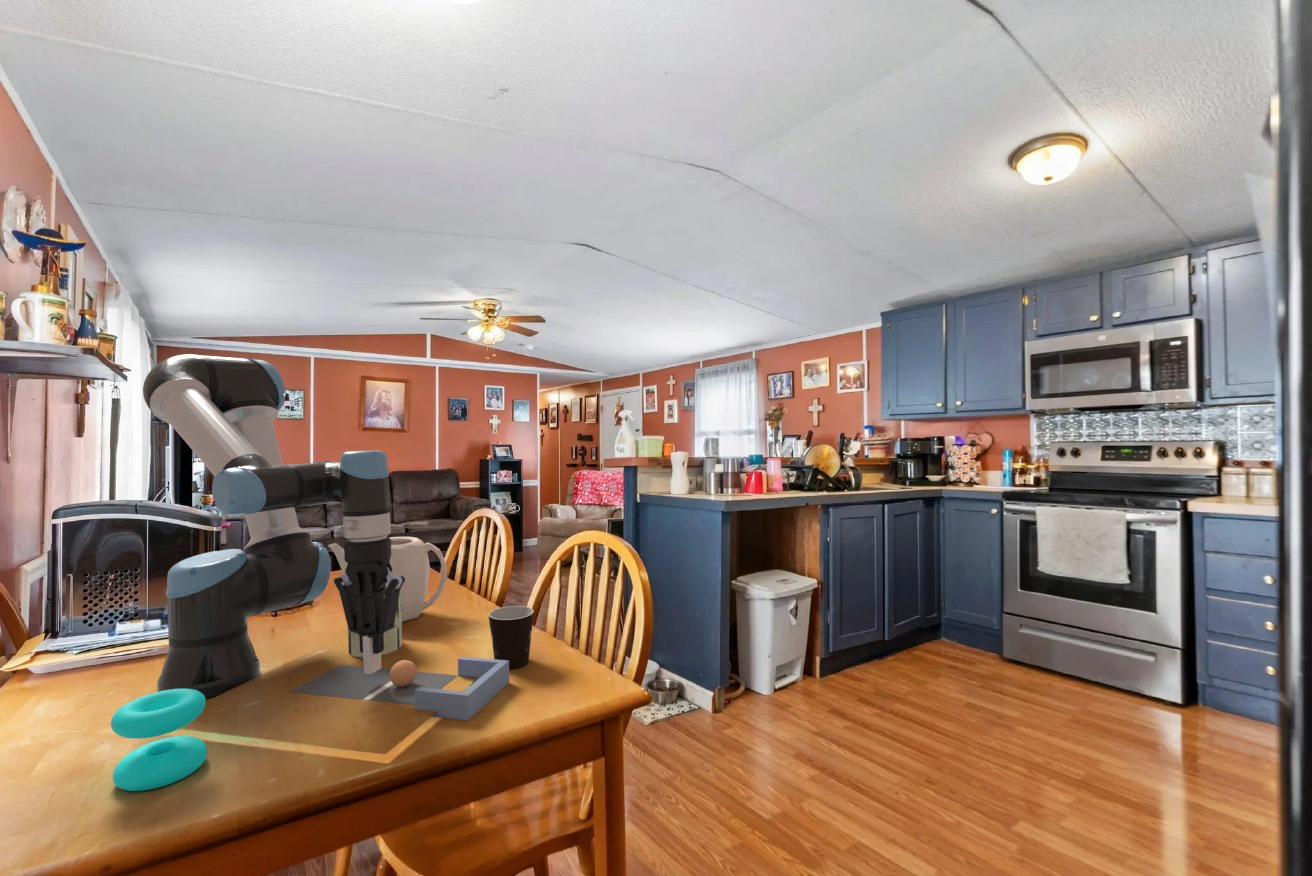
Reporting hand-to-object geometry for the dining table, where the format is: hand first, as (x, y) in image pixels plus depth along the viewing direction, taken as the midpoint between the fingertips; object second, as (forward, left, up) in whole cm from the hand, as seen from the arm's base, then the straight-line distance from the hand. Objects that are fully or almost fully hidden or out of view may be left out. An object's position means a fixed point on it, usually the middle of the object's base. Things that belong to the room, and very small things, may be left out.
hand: (372, 670), depth 109 cm
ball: (+5, +1, +2) cm, 5 cm away
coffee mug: (+19, +17, -4) cm, 26 cm away
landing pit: (+17, 0, -3) cm, 17 cm away
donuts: (-11, -29, -4) cm, 31 cm away
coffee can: (-11, +15, -4) cm, 19 cm away
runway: (0, 0, -3) cm, 3 cm away
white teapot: (-23, +36, -4) cm, 42 cm away
